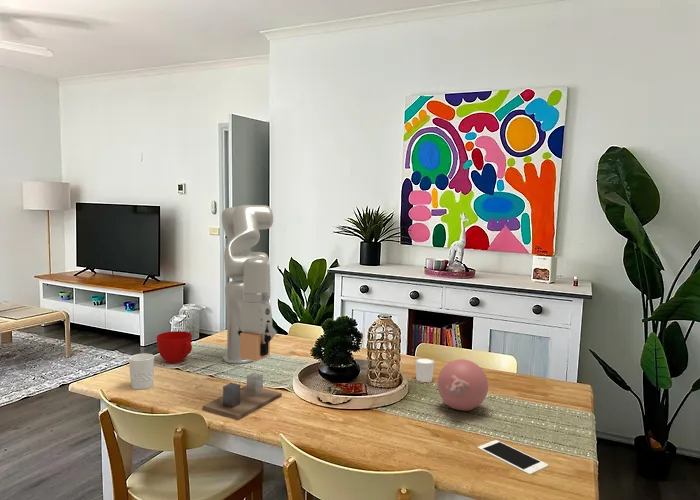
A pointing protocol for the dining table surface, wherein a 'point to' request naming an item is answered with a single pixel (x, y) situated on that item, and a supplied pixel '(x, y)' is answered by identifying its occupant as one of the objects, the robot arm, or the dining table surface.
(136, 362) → the white cup
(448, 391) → the pink stress ball
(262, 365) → the dining table surface
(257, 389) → the steel post
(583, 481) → the dining table surface
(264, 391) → the walnut board
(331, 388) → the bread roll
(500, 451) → the cell phone
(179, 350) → the ceramic cup
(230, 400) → the dark post
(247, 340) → the peach cube
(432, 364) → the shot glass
